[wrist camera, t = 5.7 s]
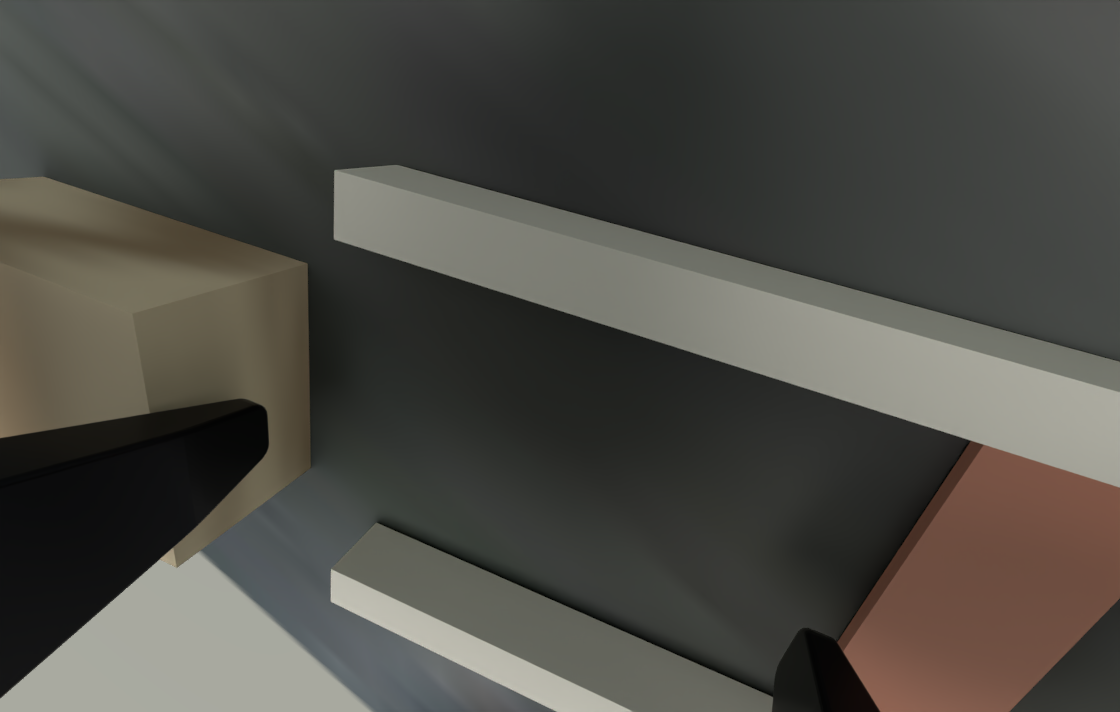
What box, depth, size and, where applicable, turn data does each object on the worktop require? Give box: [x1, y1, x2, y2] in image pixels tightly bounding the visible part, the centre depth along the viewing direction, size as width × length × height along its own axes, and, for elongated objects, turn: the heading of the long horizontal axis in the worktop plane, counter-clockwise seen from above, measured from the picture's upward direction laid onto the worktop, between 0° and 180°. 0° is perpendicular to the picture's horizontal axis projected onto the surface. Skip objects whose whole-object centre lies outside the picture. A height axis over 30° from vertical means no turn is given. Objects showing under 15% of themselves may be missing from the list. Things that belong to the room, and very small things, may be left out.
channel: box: [331, 165, 1120, 712], centre depth 9 cm, size 12×9×2 cm
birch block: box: [0, 177, 311, 568], centre depth 11 cm, size 7×5×4 cm
